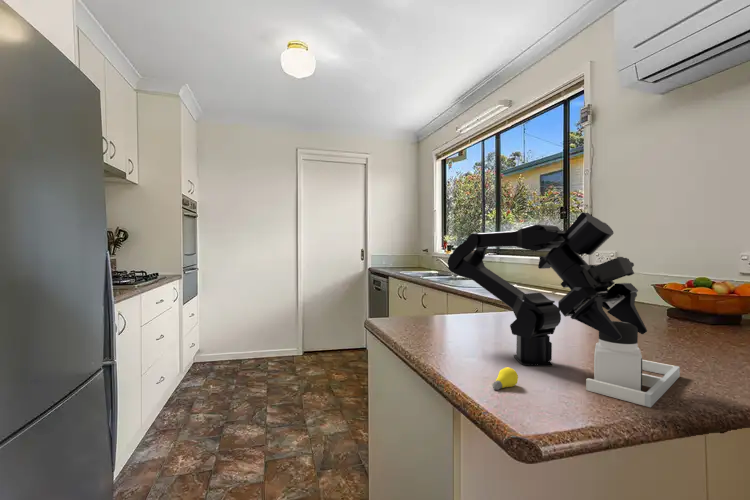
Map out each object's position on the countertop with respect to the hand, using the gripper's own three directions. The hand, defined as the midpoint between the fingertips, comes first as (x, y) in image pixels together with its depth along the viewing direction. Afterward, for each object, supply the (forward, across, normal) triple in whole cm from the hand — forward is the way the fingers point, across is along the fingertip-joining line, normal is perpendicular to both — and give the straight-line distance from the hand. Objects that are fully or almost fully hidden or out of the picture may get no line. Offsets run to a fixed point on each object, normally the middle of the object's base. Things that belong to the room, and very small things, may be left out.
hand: (632, 335), depth 67 cm
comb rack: (+6, +5, +8) cm, 12 cm away
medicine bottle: (+6, 0, +9) cm, 11 cm away
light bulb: (-2, -18, +17) cm, 25 cm away
